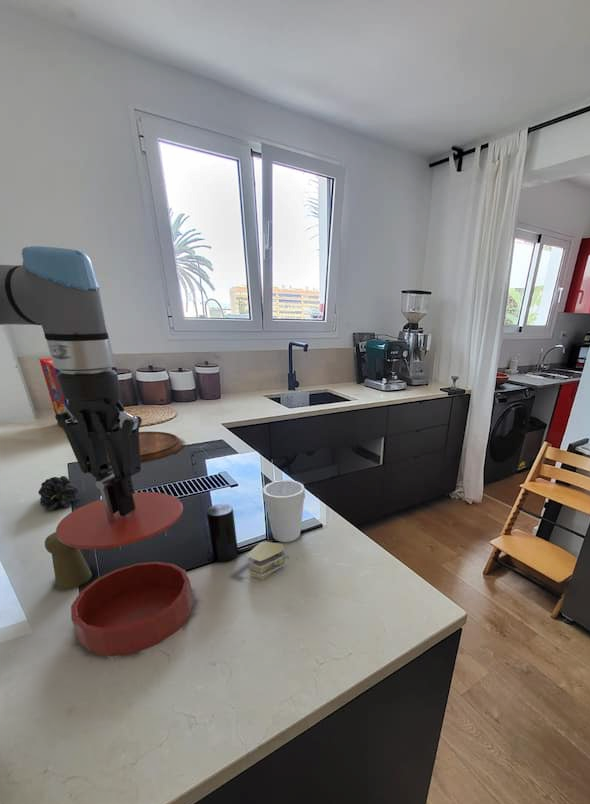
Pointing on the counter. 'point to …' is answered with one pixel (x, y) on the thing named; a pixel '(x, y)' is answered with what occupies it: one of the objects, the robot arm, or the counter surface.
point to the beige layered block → (265, 559)
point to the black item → (222, 532)
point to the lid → (118, 520)
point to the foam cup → (284, 508)
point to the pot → (132, 608)
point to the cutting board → (157, 445)
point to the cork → (67, 564)
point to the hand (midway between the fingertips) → (121, 511)
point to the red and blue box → (53, 386)
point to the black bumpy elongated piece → (57, 493)
